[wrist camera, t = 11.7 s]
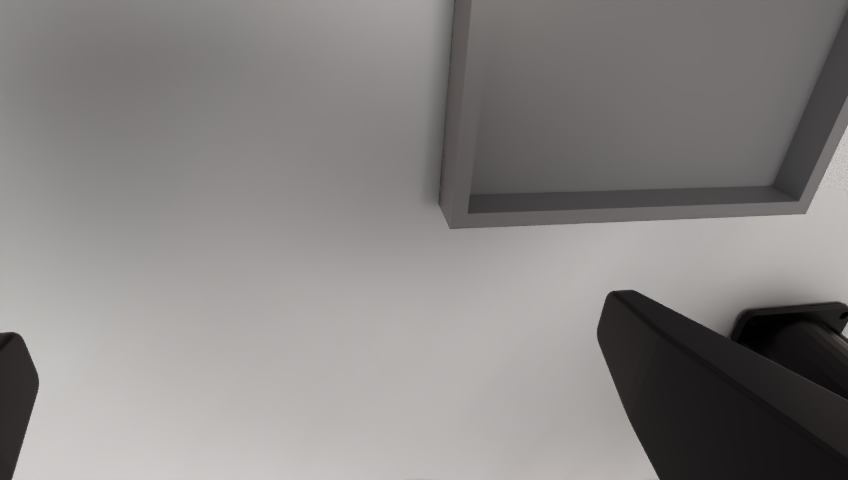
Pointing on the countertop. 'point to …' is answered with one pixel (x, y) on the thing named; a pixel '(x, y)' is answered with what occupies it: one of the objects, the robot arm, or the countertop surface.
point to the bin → (640, 109)
